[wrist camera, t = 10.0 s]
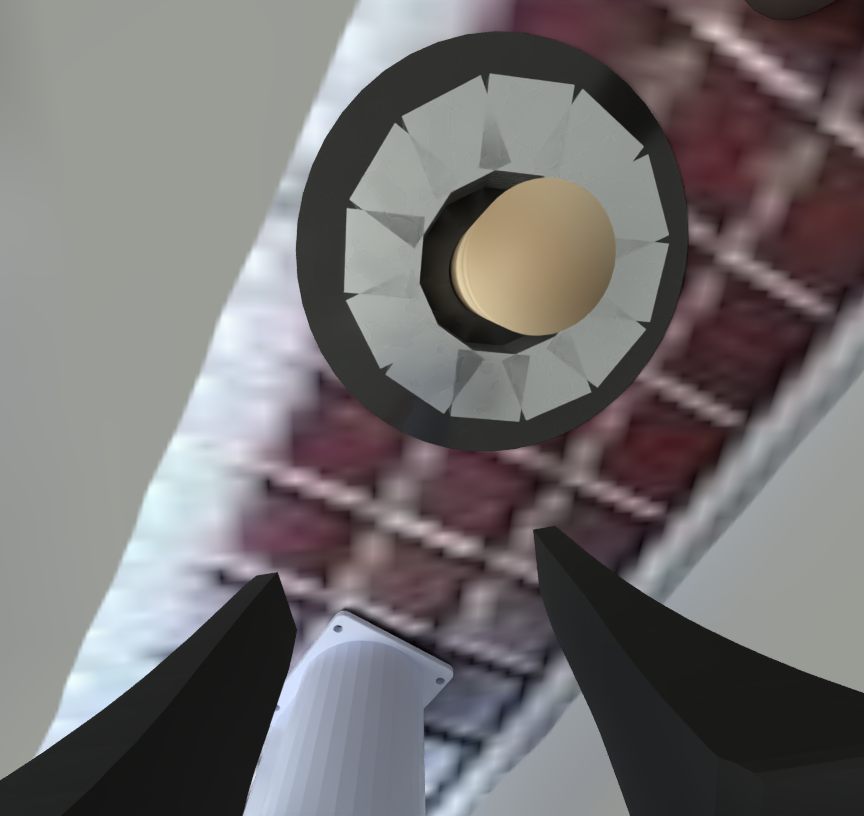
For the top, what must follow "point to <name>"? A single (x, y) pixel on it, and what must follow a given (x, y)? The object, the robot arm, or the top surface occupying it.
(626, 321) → the rosette
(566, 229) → the peg
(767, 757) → the robot arm
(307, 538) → the top surface
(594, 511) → the top surface
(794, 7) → the coffee cup
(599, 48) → the top surface
